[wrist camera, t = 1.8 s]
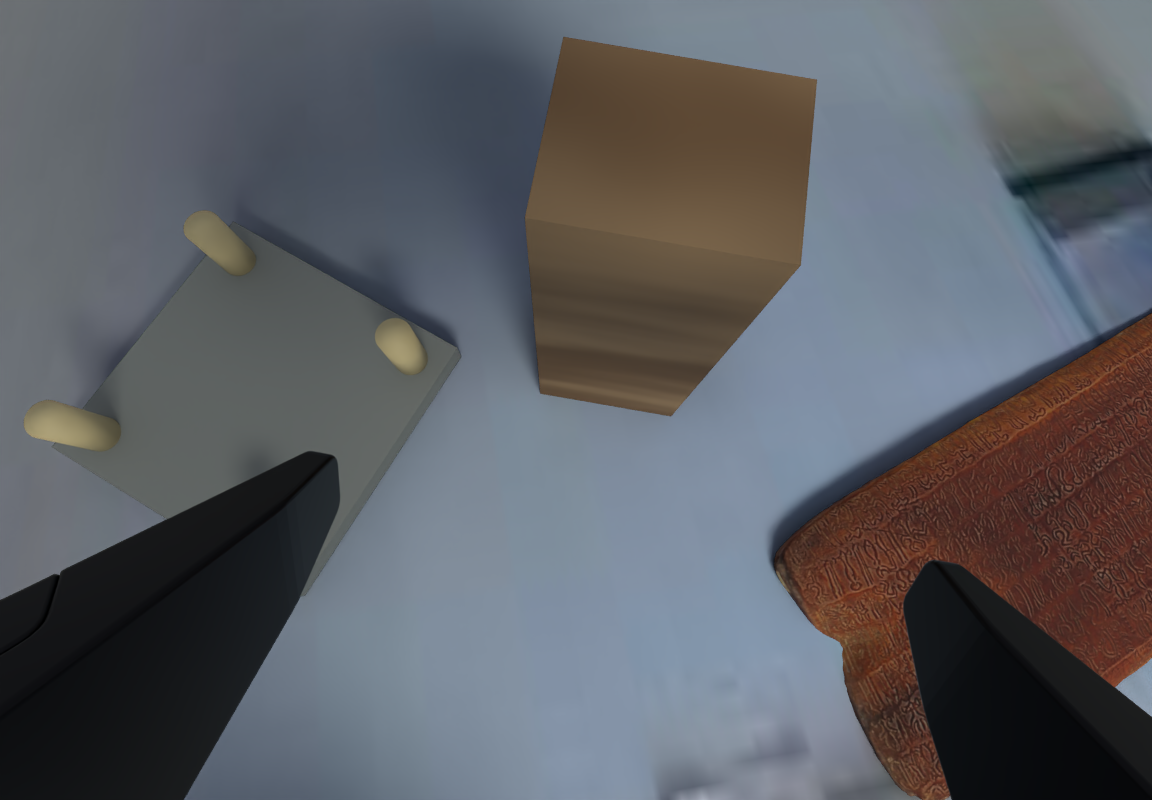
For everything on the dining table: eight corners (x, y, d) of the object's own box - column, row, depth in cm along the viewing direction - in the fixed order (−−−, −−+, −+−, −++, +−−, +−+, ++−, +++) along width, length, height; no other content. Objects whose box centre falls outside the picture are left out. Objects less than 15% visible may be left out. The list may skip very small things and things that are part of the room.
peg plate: (304, 595, 21) (257, 604, 18) (73, 451, 22) (-15, 433, 18) (461, 356, 23) (445, 322, 20) (246, 234, 24) (195, 182, 21)
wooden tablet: (907, 816, 21) (937, 839, 19) (747, 549, 23) (762, 549, 21) (1434, 441, 25) (1496, 433, 23) (1260, 240, 26) (1307, 220, 25)
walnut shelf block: (670, 416, 23) (800, 265, 11) (540, 393, 23) (524, 217, 11) (684, 318, 24) (817, 79, 12) (558, 296, 24) (563, 36, 12)
